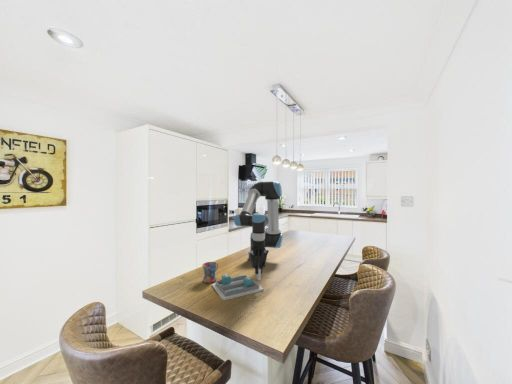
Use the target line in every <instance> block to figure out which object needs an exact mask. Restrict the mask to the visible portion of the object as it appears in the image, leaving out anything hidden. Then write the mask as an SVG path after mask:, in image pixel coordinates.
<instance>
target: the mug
mask: <svg viewBox="0 0 512 384" xmlns="http://www.w3.org/2000/svg"><path fill="white" fill-rule="evenodd" d="M202 269H203V271H204V276H203V279H202V282H204V283H208V284H210V283H211V284H213V283H216V282H217V281H218V278H217V276H216V272H217V271H218V269H219V264H218V263H217V262H214V261H207V262H204V263H203V264H202Z"/></svg>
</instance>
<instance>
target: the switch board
mask: <svg viewBox="0 0 512 384" xmlns="http://www.w3.org/2000/svg"><path fill="white" fill-rule="evenodd" d="M247 276H248V275H246V274H244V275H243V274H242V275H236V276H234V277H231V283H229V284H225V285H222V279H220V280H218V279H217V280H216V281H215V282H214V283H211V286H212V288H213V290H215V292H216V293H217V294H218V295H219V297H220V299H221V300H222V301H224V302H225V301H228V300H231V299H236V298H239V297H243V296H247V295H251V294H255V293H258V292H262V291H264V288H263V287H262V286H261V285H260V284H259V283H257V282H255V281H254V280H253V285H252V286H247V287H244V286H243V278H245V277H247Z"/></svg>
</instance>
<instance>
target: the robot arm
mask: <svg viewBox="0 0 512 384" xmlns="http://www.w3.org/2000/svg"><path fill="white" fill-rule="evenodd" d="M282 192H283V191H282V185H281V182H279V181H258V182H257V183H254V184H253V185H252V186H251V187H250V188H249V190H248V192H247V198H246V200H245V202H244V205H243V207H242V209H241V211H240V213H238V214H235V215H234V217H233V222H234V225H235V226H237V227H251V229H252V231H251V232H250V237H249V238H250V251H248V253H247V254H248V260H249V261H250V262H251V263H250V264H251V267H252V268H253V269H254V270H255V271H254V273H255V275H256V276H255V277H256V280H257V281H261V279H262V273H263V269H264V268H265V267H266V264H267V263H266V262H267V258H268V254H269V250H268V249H266V248H270V249H272V248H273V249H279V248H281V247H282V243H283V238H284V237H283V236H284V235H283V233H281V230H280V227H279V225H280V223H279V201H280V199H281V197H282V195H283V193H282ZM260 197H264V198H265V199H264V200H266V202H267V207H266V208H267V215H266V214H264V213H259V212H258V213H257V212H256V213H253V212H254V209H255V207H256V204H257V201H258V200H259V198H260ZM266 227H267V230H266Z"/></svg>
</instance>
